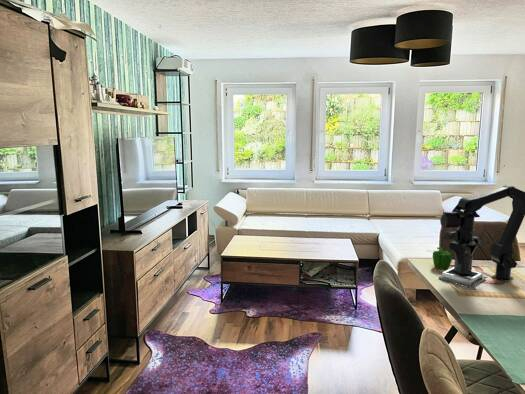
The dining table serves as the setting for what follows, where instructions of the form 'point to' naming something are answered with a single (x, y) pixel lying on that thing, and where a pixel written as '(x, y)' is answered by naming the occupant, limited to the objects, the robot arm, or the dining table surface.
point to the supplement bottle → (464, 265)
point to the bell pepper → (442, 259)
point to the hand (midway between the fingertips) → (463, 262)
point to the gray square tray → (462, 278)
